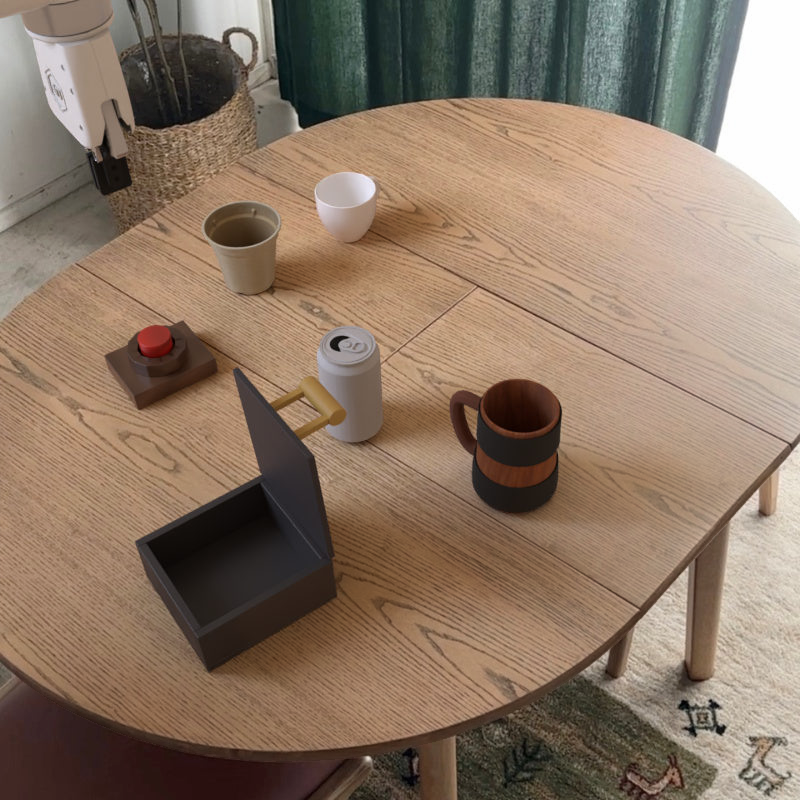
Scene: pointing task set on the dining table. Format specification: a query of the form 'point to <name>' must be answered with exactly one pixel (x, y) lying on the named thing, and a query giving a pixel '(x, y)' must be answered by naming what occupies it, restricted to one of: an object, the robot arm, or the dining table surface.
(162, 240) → the dining table surface
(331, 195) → the cup
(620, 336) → the dining table surface
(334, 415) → the box lid
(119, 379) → the block
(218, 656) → the box case
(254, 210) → the flower pot
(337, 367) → the beverage can
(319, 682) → the dining table surface
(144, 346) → the alarm button
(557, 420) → the mug
